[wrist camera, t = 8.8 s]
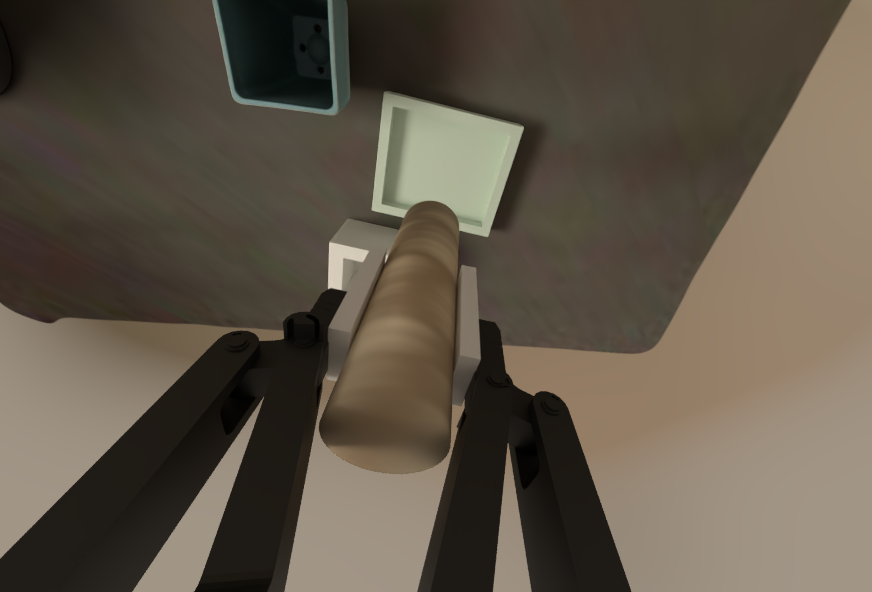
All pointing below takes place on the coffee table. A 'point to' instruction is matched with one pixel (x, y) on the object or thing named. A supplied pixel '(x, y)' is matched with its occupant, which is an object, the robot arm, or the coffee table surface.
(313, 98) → the flower pot
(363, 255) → the hollow block
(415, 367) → the dowel
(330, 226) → the coffee table surface
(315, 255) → the coffee table surface
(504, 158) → the tray
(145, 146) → the coffee table surface
